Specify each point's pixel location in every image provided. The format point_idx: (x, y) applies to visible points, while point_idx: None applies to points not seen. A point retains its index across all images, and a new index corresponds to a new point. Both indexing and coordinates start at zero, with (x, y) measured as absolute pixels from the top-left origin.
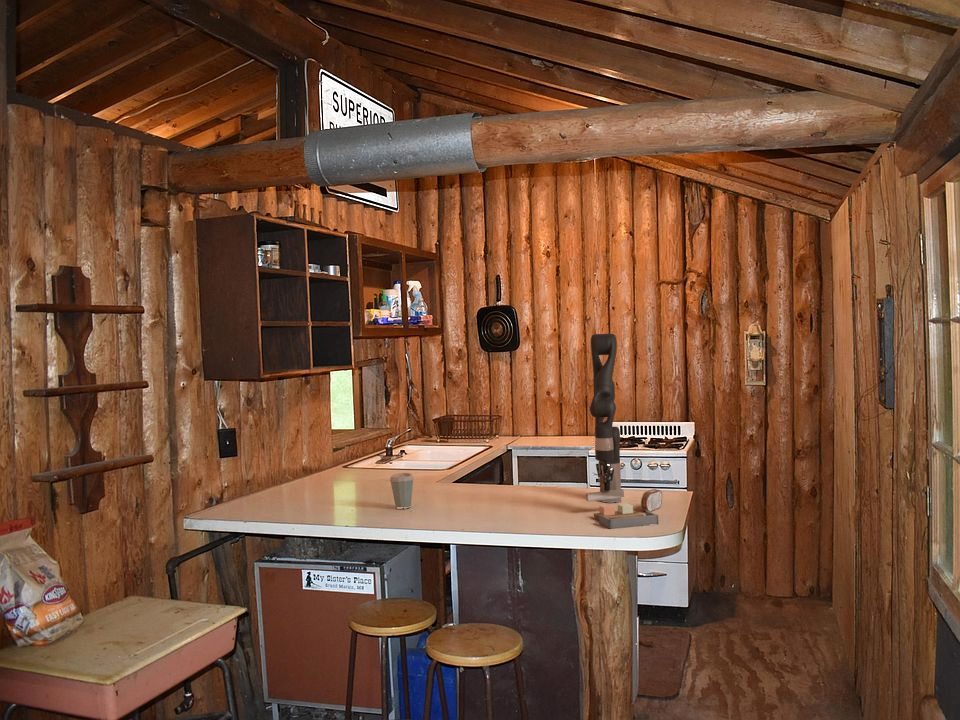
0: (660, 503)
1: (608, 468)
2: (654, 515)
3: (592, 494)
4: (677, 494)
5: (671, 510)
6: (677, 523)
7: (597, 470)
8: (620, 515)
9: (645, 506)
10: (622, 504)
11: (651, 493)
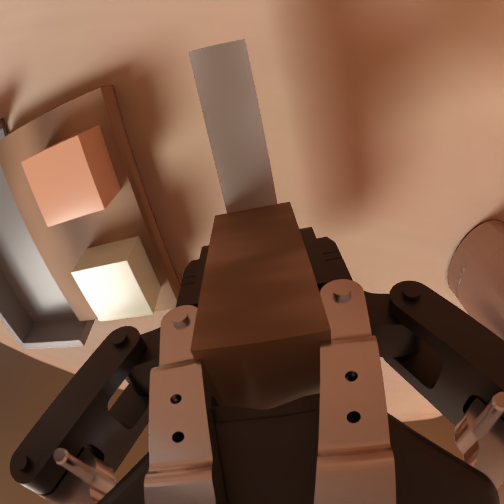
0: None
1: (24, 485)
2: (16, 338)
3: (200, 101)
4: (431, 410)
5: None
6: (61, 367)
7: (479, 347)
8: (52, 231)
9: None
10: (121, 283)
11: None
